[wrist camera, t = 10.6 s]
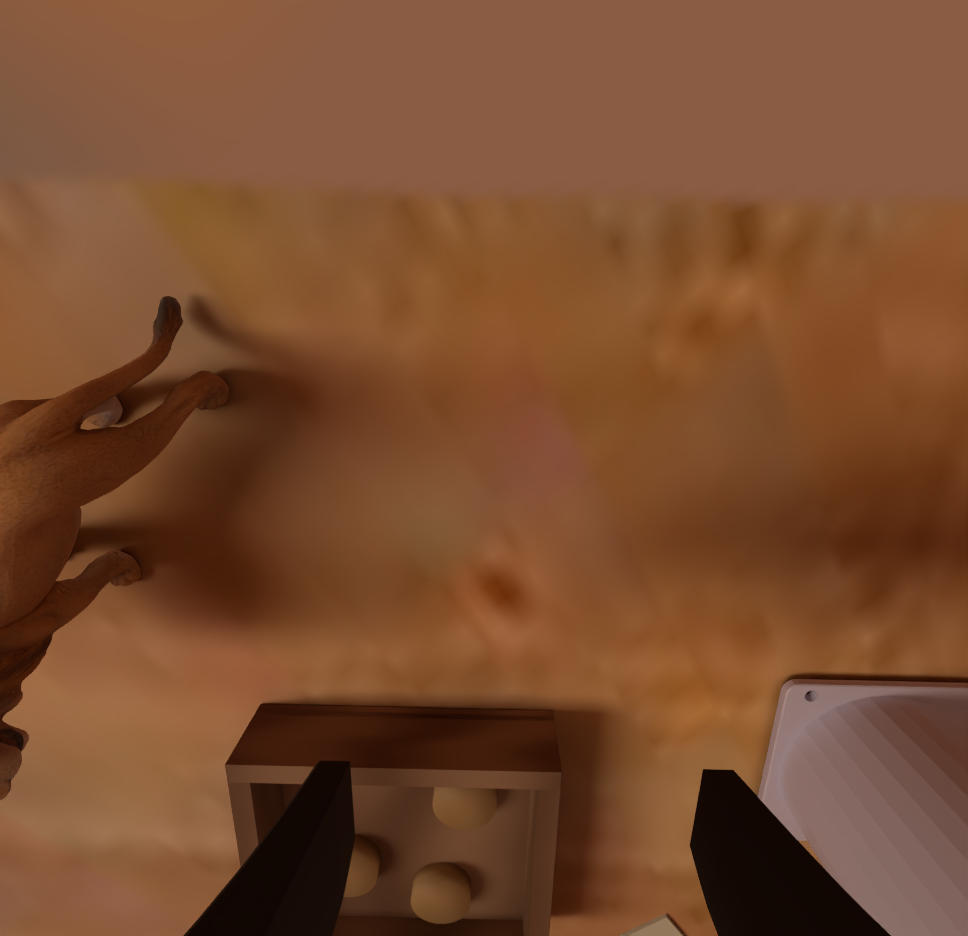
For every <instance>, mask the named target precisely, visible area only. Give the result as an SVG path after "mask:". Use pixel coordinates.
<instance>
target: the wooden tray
mask: <svg viewBox="0 0 968 936" xmlns="http://www.w3.org/2000/svg"><path fill="white" fill-rule="evenodd" d="M319 761H350V766H351V781H352V796H353V810H354V825H355V842H354V847H353V852H352V857H351V862H350V867H349V873H348V877H347V882H346V887H345V892H344V897H343V901H342V904H341V908H340V911H339V915H338V918H337V922H336V925H335V928H334V932H333V935H332V936H549V930H550V918H551V905H552V892H553V879H554V867H555V854H556V841H557V828H558V815H559V803H560V790H561V777H562V770H561V764H560V758H559V752H558V745H557V739H556V733H555V726H554V720H553V714H552V711H545V710H501V709H457V708H413V707H370V706H326V705H282V704H260V706H259V708H258V709H257V711H256V713H255V715H254V716H253V718H252V720H251V721H250V723H249V725H248V726H247V728H246V730H245V732H244V733H243V735H242V737H241V738H240V740H239V742H238V743H237V745H236V747H235V749H234V750H233V752H232V754H231V755H230V757H229V759H228V761H227V762H226V764H225V768H226V774H227V781H228V787H229V794H230V800H231V807H232V813H233V820H234V826H235V833H236V839H237V846H238V852H239V859H240V865H241V867H242V865H243V864H244V863H245V861H246V860H247V859H248V858H249V856H250V855H251V854H252V852H253V851H254V850H255V848H256V847H257V846H258V844H259V843H260V842H261V841H262V839H263V838H264V837H265V835H266V834H267V833H268V831H269V830H270V829H271V827H272V826H273V825H274V823H275V822H276V821H277V819H278V818H279V817H280V815H281V814H282V812H283V811H284V810H285V808H286V807H287V806H288V804H289V803H290V801H291V800H292V798H293V797H294V796H295V794H296V793H297V791H298V790H299V788H300V787H301V785H302V784H303V783H304V781H305V780H306V778H307V777H308V775H309V774H310V772H311V771H312V769H313V768H314V766H315V765H316V764H317V763H318V762H319Z"/></svg>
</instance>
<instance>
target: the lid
mask: <svg viewBox="0 0 968 936" xmlns="http://www.w3.org/2000/svg"><path fill="white" fill-rule="evenodd" d="M619 936H684V935H683V933H682V932H681V931H680V930H679V929H678V928H677V926H676V925H675V924H674V923H673V922H672V921H671V920H670V918H669V917H668V916H667V915H666V914H664V915H662V916H660V917H657V918H655V919H653V920H651V921H649V922H647V923H645V924H643V925H640V926H638V927H636V928H634V929H632V930H630V931H628V932H626V933H623V934H621V935H619Z"/></svg>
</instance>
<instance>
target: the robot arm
mask: <svg viewBox="0 0 968 936" xmlns="http://www.w3.org/2000/svg"><path fill="white" fill-rule="evenodd" d="M809 691H811V692H810V693H809V694H806V693H807V692H809ZM798 840H804V841H808V842H809V844H810V846H811V847H812V849H813V851H814V852H815V854H816V855H817V857H818V859H819V860H820V862H821V864H822V865H823V867H824V868H823V867H822V866H821V865H820V864H819V863H818V862H817V861H816V860H815V858H814V857H813V856H812V855H811V854H810V853H809V852H808V851H807V850H806V849H805V848H804V847H803V846H802V845H801V844H800V843H799V841H798ZM354 842H355V825H354V810H353V796H352V781H351V766H350V761H319V762H318V763H317V764H316V765H315V766H314V768H313V769H312V771H311V772H310V774H309V775H308V777H307V778H306V780H305V781H304V783H303V784H302V785H301V787H300V788H299V790H298V791H297V793H296V794H295V796H294V797H293V798H292V800H291V801H290V803H289V804H288V806H287V807H286V808H285V810H284V811H283V812H282V814H281V815H280V817H279V818H278V819H277V821H276V822H275V823H274V825H273V826H272V827H271V829H270V830H269V831H268V833H267V834H266V835H265V837H264V838H263V839H262V841H261V842H260V843H259V844H258V846H257V847H256V848H255V850H254V851H253V852H252V854H251V855H250V856H249V858H248V859H247V860H246V861H245V863H244V864H243V865H242V867H241V868H240V869H239V870H238V872H237V873H236V874H235V875H234V877H233V878H232V879H231V880H230V881H229V883H228V884H227V885H226V886H225V887H224V889H223V890H222V891H221V892H220V893H219V895H218V896H217V897H216V898H215V899H214V901H213V902H212V903H211V904H210V905H209V907H208V908H207V909H206V910H205V911H204V913H203V914H202V915H201V916H200V917H199V919H198V920H197V921H196V922H195V923H194V924H193V925H192V927H191V928H190V929H189V930H188V931H187V932H186V933H185V935H184V936H332V935H333V932H334V928H335V925H336V922H337V918H338V915H339V911H340V908H341V904H342V901H343V897H344V892H345V887H346V882H347V877H348V873H349V867H350V862H351V857H352V852H353V847H354ZM690 848H691V851H692V855H693V859H694V862H695V866H696V870H697V873H698V877H699V880H700V884H701V887H702V890H703V894H704V897H705V901H706V904H707V907H708V910H709V913H710V915H711V918H712V921H713V923H714V926H715V928H716V931H717V934H718V936H968V683H953V682H909V681H865V680H820V679H792V680H789V681H787V682H786V683H785V684H784V685H783V686H782V689H781V692H780V697H779V702H778V706H777V711H776V715H775V720H774V725H773V729H772V734H771V738H770V743H769V748H768V752H767V757H766V761H765V766H764V771H763V775H762V780H761V784H760V789H759V794H758V797H757V795H756V794H755V793H754V792H753V791H752V790H751V789H750V788H749V787H748V786H747V784H746V783H745V782H744V781H743V780H742V779H741V778H740V777H739V776H738V775H737V774H736V772H735V771H734V770H709V769H703V773H702V779H701V785H700V791H699V796H698V802H697V808H696V813H695V819H694V825H693V830H692V836H691V842H690Z"/></svg>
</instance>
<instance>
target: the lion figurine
mask: <svg viewBox="0 0 968 936" xmlns="http://www.w3.org/2000/svg"><path fill="white" fill-rule="evenodd" d="M182 323H183V320H182V317H181V307H180V305H179V303H178V301H177V300H176V299H175V298H173V297H170V296H166V297H163V298H162V299H161V301H160V304H159V308H158V315H157V318H156V320H155V321H154V325H153V332H154V336H153V341H152V344H151V346H150V347H149V349H148V350H147V351H146V352H145V353H144V354H143V355H141V356H140V357H138V358H136V359H135V360H133V361H131V362H130V363H128V364H126V365H124V366H123V367H121V368H119V369H117V370H114V371H112V372H110V373H108V374H106V375H104V376H102V377H99V378H97V379H94V380H91V381H89V382H87V383H85V384H83V385H81V386H79V387H76V388H74V389H72V390H70V391H68V392H67V393H65V394H63V395H61V396H59V397H56V398H52V399H42V400H14V401H9V402H6V403H4V404H2V405H0V800H1V799H3V798H5V797H6V796H7V794H8V793H9V791H10V789H11V780H12V779H13V777H14V776H15V775H16V773H17V772H18V770H19V768H20V765H21V762H22V756H21V751H22V750H23V749H24V747H25V746H26V744H27V742H28V740H29V735H28V733H27V732H26V731H24V730H21V729H19V728H15V727H13V726H10V725H8V724H6V723H5V722H3V721H2V718H3V716H4V715H5V714H6V713H7V712H9V711H10V710H12V709H13V708H14V707H15V706H16V705H18V703H19V702H20V701H21V699H22V696H23V693H22V691H21V683H22V681H23V680H24V679H25V678H26V677H27V676H28V675H29V674H31V673H32V672H33V671H34V670H35V668H36V667H37V666H38V665H39V663H40V662H41V660H42V658H43V657H44V656H45V654H46V650H47V648H48V646H49V644H50V642H51V640H52V635H53V633H54V632H55V631H56V630H58V629H59V628H61V627H62V626H64V625H65V624H67V623H68V622H69V621H71V620H72V619H73V618H74V617H76V616H77V615H78V614H79V613H80V612H82V611H83V610H84V609H85V608H86V607H87V606H88V605H89V604H90V603H91V602H92V601H93V600H94V599H95V597H96V596H97V594H98V593H99V592H100V590H101V589H102V588H103V587H104V586H105V585H106V584H107V583H108V582H111V583H112V584H113V585H115V586H118V585H122V586H127V585H130V584H132V583H133V582H134V581H137V580H138V579H139V578H140V577H141V570H140V567H139V565H138V563H137V562H136V560H135V559H134V558H133V557H132V556H130V555H128V554H126V553H124V552H121V551H117V550H116V551H111V552H108V553H106V554H105V555H102V556H100V557H99V558H97V559H95V560H94V561H93V562H92V563H90V564H89V565H88V566H87V567H86V569H85V570H84V571H83V572H82V573H81V574H80V575H79V576H77V577H76V578H74V579H67V580H63V581H56V579H57V578H58V576H59V574H60V573H61V571H62V569H63V568H64V566H65V564H66V562H67V560H68V558H69V556H70V554H71V552H72V549H73V546H74V543H75V541H76V538H77V535H78V531H79V528H80V524H81V508H80V506H82V505H85V504H87V503H89V502H91V501H93V500H95V499H97V498H99V497H101V496H103V495H105V494H107V493H109V492H111V491H113V490H114V489H116V488H117V487H119V486H120V485H121V484H123V483H124V482H125V481H127V480H128V479H129V478H131V477H132V476H134V475H135V474H137V473H138V472H140V471H141V470H142V469H143V468H144V467H146V466H147V465H148V464H149V463H150V462H151V461H152V460H153V459H155V458H156V457H157V456H158V455H159V454H160V452H161V451H162V450H163V449H164V448H165V447H166V446H167V445H168V444H169V442H170V441H171V439H172V438H173V436H174V435H175V434H176V432H177V431H178V429H179V428H180V427H181V425H182V424H183V422H184V421H185V420H186V418H187V417H188V416H189V415H190V414H191V413H192V411H193V410H194V409H195V408H196V407H197V408H198V409H201V410H203V409H211V410H213V409H216V408H218V407H221V406H223V405H224V404H226V402H227V400H228V397H229V387H228V385H227V384H226V382H225V381H224V380H223V379H222V378H221V377H219V376H218V375H216V374H213V373H211V372H208V371H200V372H198V373H196V374H194V375H192V376H191V377H189V378H187V379H185V380H183V381H182V382H180V383H179V384H177V385H176V386H175V387H174V388H173V389H172V390H171V391H170V393H169V394H168V396H167V397H166V399H165V401H164V403H163V404H161V405H160V406H159V407H157V408H156V409H155V410H153V411H152V412H150V413H149V414H147V415H145V416H144V417H142V418H139V419H137V420H136V421H134V422H132V423H131V424H129V425H127V426H124V427H119V428H118V427H109V426H111V425H113V424H115V423H116V422H118V420H119V419H120V417H121V415H122V411H123V409H122V406H121V404H120V402H119V400H118V398H117V397H116V395H118V394H120V393H122V392H123V391H125V390H127V389H128V388H130V387H131V386H133V385H134V384H136V383H137V382H139V381H140V380H142V379H143V378H144V377H146V376H147V375H149V374H150V373H152V372H153V371H154V370H155V369H156V368H157V367H158V366H159V365H160V364H161V363H162V362H163V361H164V359H165V358H166V357H167V356H168V353H169V351H170V349H171V345H172V342H173V340H174V338H175V336H176V333H177V332H178V330H179V328H180V327H181V325H182ZM85 419H87V420H88V421H89V422H91V423H92V424H95V425H97V426H98V427H102V428H99V429H92V430H83V429H81V428H80V427H81V424H82V422H83V421H84V420H85ZM105 427H106V428H105Z"/></svg>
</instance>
